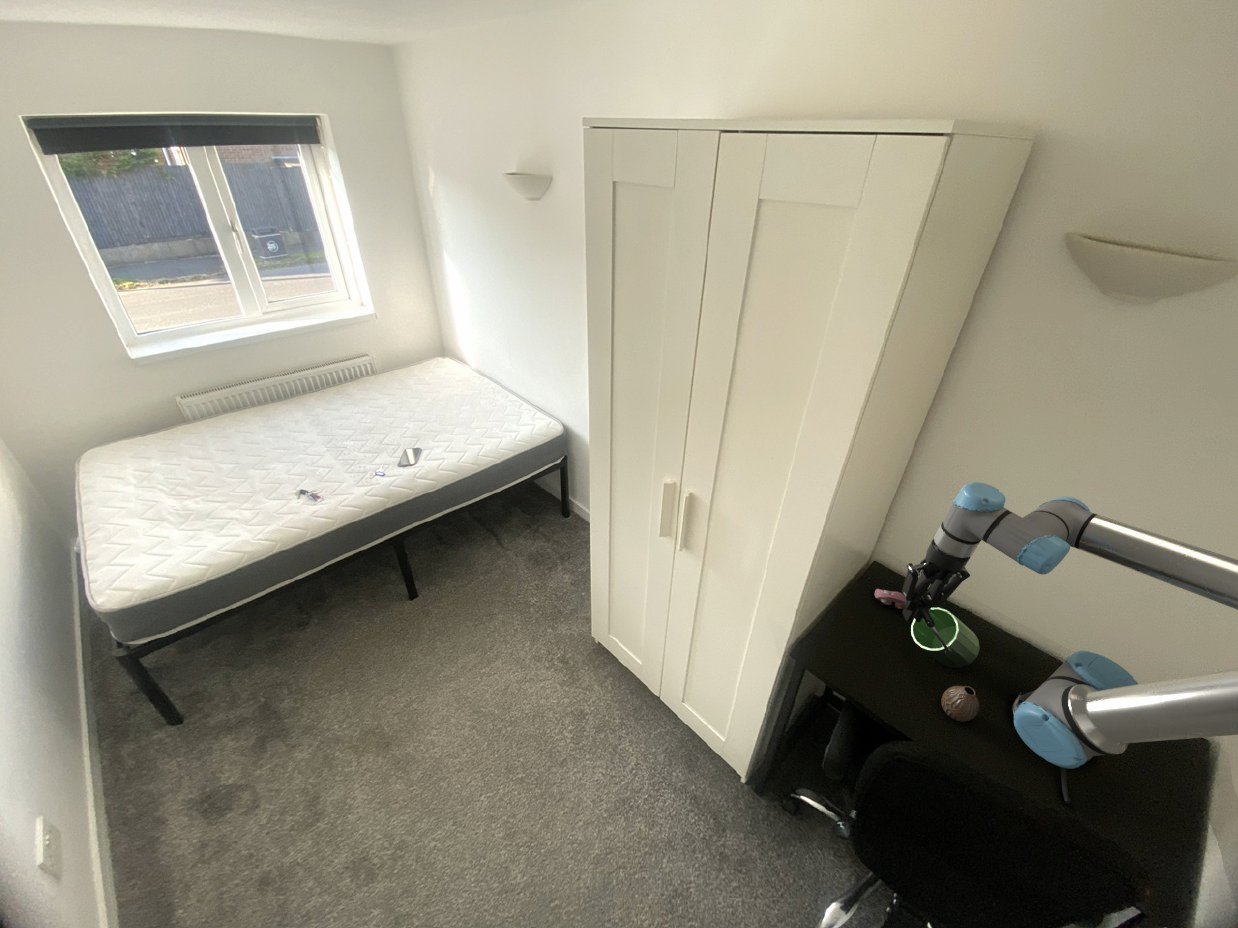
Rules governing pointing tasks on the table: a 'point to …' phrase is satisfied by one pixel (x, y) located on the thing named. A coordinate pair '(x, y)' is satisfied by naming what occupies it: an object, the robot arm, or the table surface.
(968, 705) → the vase
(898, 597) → the video game controller
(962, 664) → the bucket
